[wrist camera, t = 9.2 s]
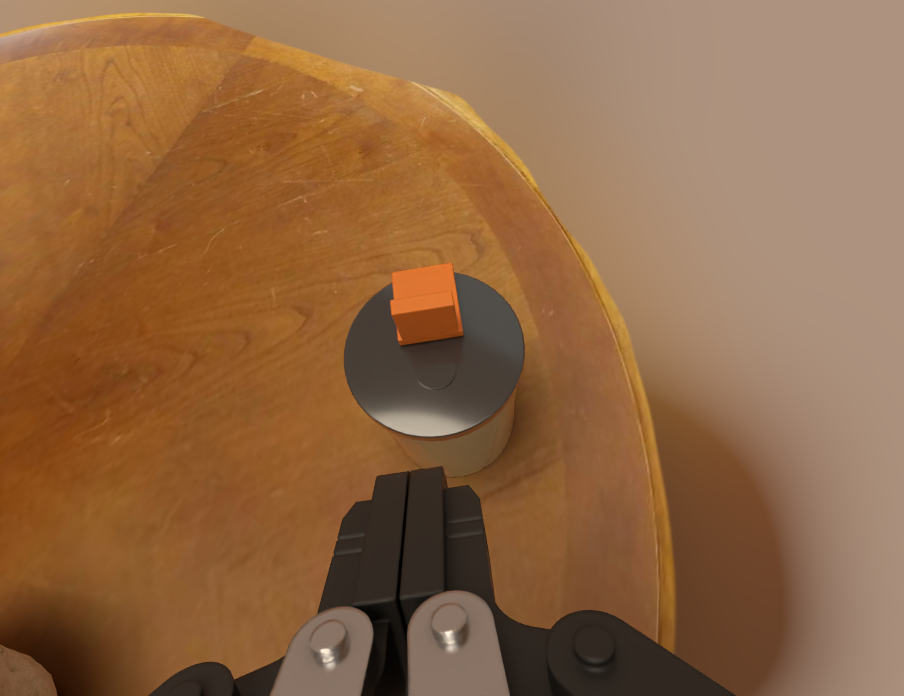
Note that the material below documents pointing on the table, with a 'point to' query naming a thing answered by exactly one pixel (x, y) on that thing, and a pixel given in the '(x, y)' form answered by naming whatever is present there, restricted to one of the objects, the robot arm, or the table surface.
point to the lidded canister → (440, 379)
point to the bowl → (23, 675)
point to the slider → (425, 304)
